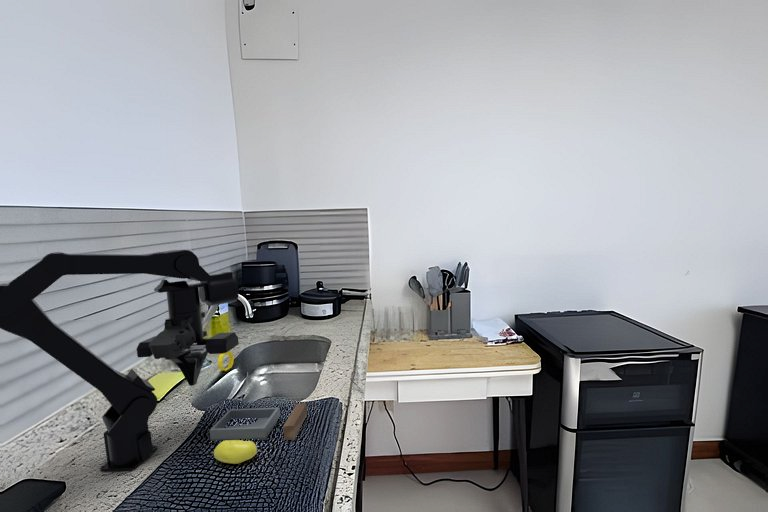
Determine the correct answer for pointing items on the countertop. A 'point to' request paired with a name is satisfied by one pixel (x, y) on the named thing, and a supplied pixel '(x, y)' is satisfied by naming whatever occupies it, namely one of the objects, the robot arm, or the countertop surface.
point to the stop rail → (295, 421)
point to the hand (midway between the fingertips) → (193, 384)
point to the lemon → (235, 451)
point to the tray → (245, 431)
